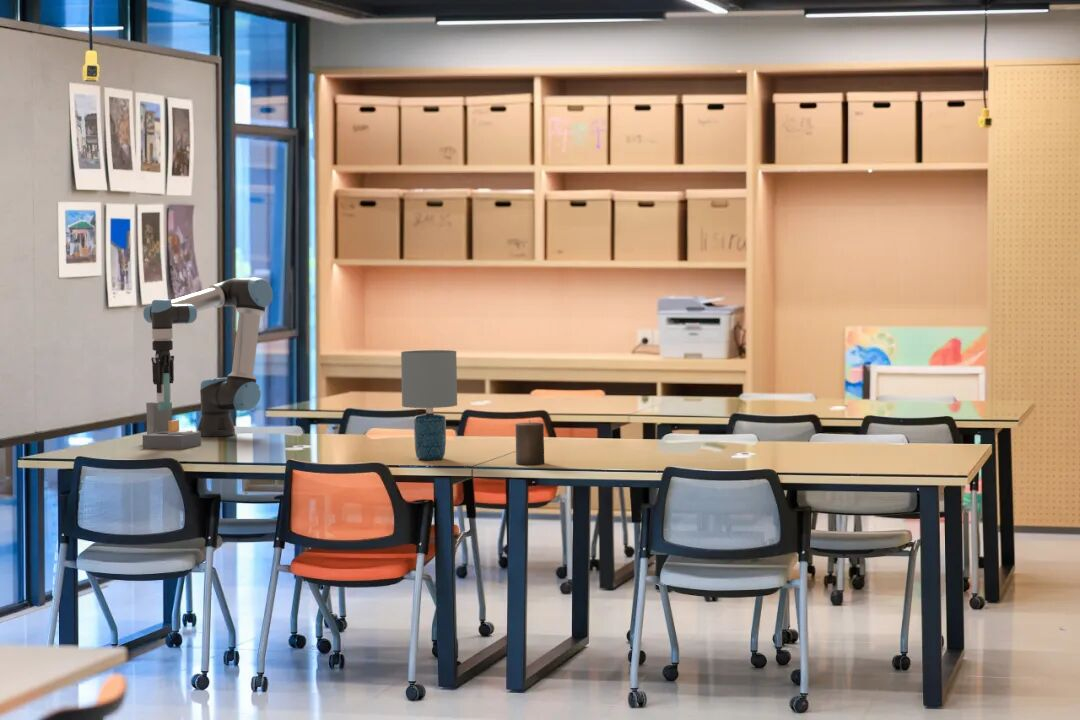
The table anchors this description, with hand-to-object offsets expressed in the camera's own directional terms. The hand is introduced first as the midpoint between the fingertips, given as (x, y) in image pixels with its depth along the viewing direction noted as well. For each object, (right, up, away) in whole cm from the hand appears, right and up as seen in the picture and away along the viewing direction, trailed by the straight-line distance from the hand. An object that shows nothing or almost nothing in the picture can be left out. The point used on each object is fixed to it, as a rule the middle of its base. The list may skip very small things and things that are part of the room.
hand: (163, 400), depth 606 cm
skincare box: (-6, -17, +17) cm, 25 cm away
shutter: (+6, -12, -1) cm, 14 cm away
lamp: (+105, -19, -50) cm, 118 cm away
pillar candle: (+140, -20, -66) cm, 156 cm away
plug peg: (0, -3, 0) cm, 3 cm away
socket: (+3, -17, 0) cm, 18 cm away
